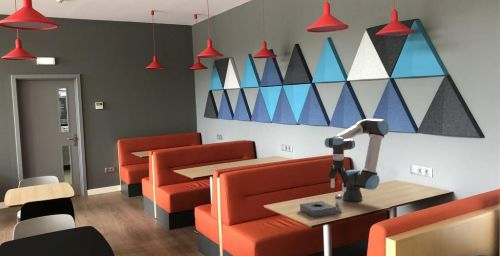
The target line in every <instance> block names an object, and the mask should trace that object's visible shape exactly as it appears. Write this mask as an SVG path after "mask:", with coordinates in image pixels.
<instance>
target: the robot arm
mask: <svg viewBox="0 0 500 256" xmlns="http://www.w3.org/2000/svg"><path fill="white" fill-rule="evenodd" d="M389 126H390V125H389V123H388V121H387V120H385V119H383V118H382V119H381V118H365V119H362V120H359V121H357V122H355V123H353V124H352V126H351V127H349V128H347V129H345V130H344V131H341V132H340V133H338V134H336V135H335V136H332V137H327V138H325V140H324V146H325V148H330V149H332V159H333V160H332V164H331V166H330V171H329V174H328V178H330V188H331V189H334V188H335V186H336V185H335V184H336V183H335V182H336V181H335V177H336V175H337V174H338V175H340V178H341V181H342V183H341V184H342V187H341V189H342V191H341V192H342V193H343V194H342V201H345V202H350V203H358V202H362V201H363V195H362V191H361V189H363V190H368V191H369V190H370V191H373V190H376V189H377V187H378V186H379V183H380V176H379V175H378V172H377V168H378V167H377V166H378V161H379V155H380V150H381V144H382V140H383V139H385V136H386V135H388V134H389V131H390V127H389ZM365 134H367V135H368V137H369V140H368V145H367V151H366V156H365V157H366V158H365V163H364V167H363V168H362V169H361V170H360V169H349V170H347V169H346V167H343V166H344V165H345V160H344V159H345V151H347V150H349V151H351V150H353V149H354V148H355V147H356V141H355V140H354V139H353V138H355V137H356V136H360V135H365Z"/></svg>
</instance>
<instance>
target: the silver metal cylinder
mask: <svg viewBox="0 0 500 256" xmlns="http://www.w3.org/2000/svg"><path fill="white" fill-rule="evenodd" d="M334 195H335V196H334V201H335V203H334V204H335V205H334V207H336V214H340V213H342V212H343V194H339V193H338V194H334Z"/></svg>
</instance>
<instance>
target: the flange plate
mask: <svg viewBox="0 0 500 256" xmlns="http://www.w3.org/2000/svg"><path fill="white" fill-rule="evenodd" d="M299 211H300V212H301V213H303V214H305V215H307V216H309V217H311V218H313V219H316V218H322V217H327V216H328V217H329V216H333V215H336V214H337V212H336V207H335V205H332V204H330V203H327V202H325V201H322V200H319V201H313V202H304V203H300V204H299Z"/></svg>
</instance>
